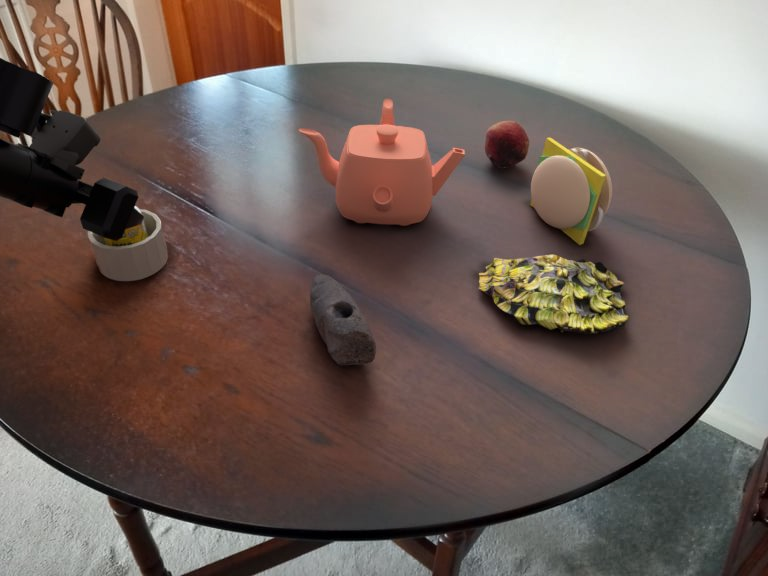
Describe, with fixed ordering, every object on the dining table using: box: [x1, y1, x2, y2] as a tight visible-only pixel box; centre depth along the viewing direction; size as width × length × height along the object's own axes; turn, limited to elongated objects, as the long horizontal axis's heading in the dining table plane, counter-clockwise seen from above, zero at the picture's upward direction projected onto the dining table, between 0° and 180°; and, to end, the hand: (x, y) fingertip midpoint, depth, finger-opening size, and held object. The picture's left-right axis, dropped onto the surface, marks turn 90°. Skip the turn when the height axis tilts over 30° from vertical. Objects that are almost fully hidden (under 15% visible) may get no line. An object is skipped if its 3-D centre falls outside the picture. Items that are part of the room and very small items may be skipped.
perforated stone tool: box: [309, 273, 377, 367], centre depth 75 cm, size 15×5×7 cm, turn 22°
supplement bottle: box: [104, 205, 148, 247], centre depth 83 cm, size 5×5×10 cm
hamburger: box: [529, 137, 613, 246], centre depth 95 cm, size 12×8×12 cm
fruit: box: [484, 120, 530, 169], centre depth 108 cm, size 8×8×8 cm
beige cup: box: [87, 208, 169, 282], centre depth 84 cm, size 9×9×6 cm
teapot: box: [298, 98, 466, 227], centre depth 94 cm, size 18×18×14 cm
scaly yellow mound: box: [478, 254, 630, 335], centre depth 84 cm, size 20×16×7 cm
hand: (115, 209), depth 80 cm, fingers open, 9 cm apart
